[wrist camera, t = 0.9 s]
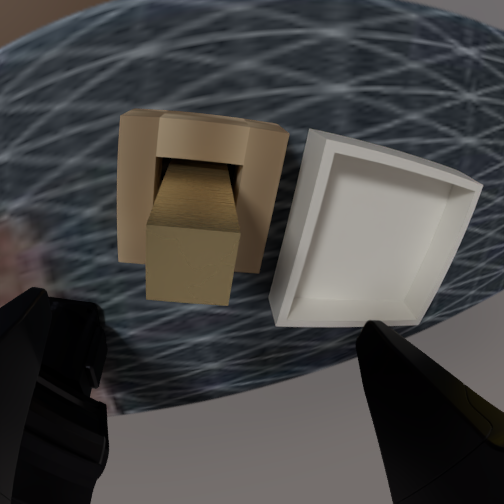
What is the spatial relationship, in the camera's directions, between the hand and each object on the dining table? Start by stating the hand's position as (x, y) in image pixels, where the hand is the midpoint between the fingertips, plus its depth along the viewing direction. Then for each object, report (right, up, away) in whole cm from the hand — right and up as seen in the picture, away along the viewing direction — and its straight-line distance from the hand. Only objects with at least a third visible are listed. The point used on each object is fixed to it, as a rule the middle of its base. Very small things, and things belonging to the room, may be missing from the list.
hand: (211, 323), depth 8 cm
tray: (+9, +3, +14) cm, 17 cm away
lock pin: (-2, +6, +10) cm, 12 cm away
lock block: (-2, +6, +10) cm, 12 cm away
